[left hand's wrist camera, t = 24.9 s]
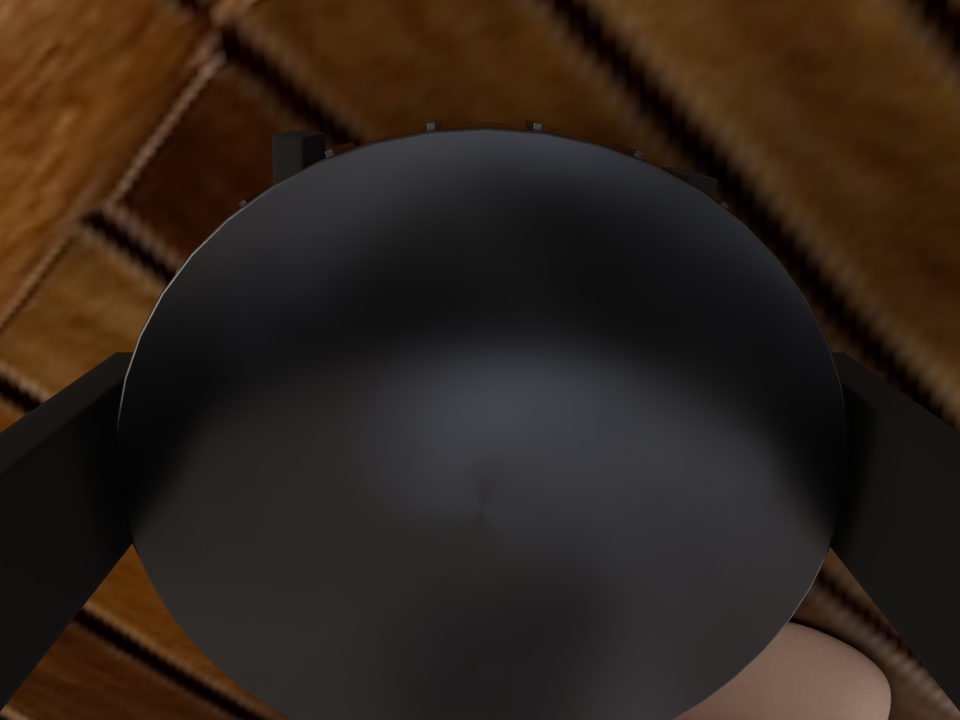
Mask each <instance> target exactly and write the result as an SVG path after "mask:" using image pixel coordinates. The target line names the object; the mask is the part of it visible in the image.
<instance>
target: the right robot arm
mask: <svg viewBox="0 0 960 720" xmlns="http://www.w3.org/2000/svg"><path fill="white" fill-rule="evenodd" d="M272 140H273V185H274V184H275V183H277V182H279V181H281V180H283V179H285V178H287V177H289V176H291V175H293V174H295V173H297V172H299V171H300V170H302V169H304V168H306V167H308V166H310V165H312V164H314V163H316V162H318V161H320V160H322V159H325V158H326V154H325V151H326V133H322V132H312V131H302V130H298V131H292V132H286V133H280V134H274V135H272ZM662 169H663V170H665V171H667V172H669V173H671V174H672V175H674V176H676V177H678V178H680V179H682V180H683V181H685V182H687V183H689V184H691V185H692V186H694V187H696V188H698V189H700V190H702V191H703V192H704V193H705V194H707V195H708V196H711V197H713V198H714V197H715V192H716V188H717V183H718V179H715V178H712V177H709V176H706V175H703V174H700V173H697V172H694V171H691V170H688V169H678V168H668V167H662Z"/></svg>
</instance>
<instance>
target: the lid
mask: <svg viewBox="0 0 960 720" xmlns="http://www.w3.org/2000/svg"><path fill="white" fill-rule="evenodd" d="M542 125H543V124H542V123H539V122H536V121H534V120H526V125H514V124H502V123H489V122H481V123H464V124H447V125H442V120H441V119H437V120H433V121H431V122H428V123H427V127H426V128H421V129H416V130H411V131H406V132H401V133H396V134H392V135H389V136H386V137H383V138H381V139H378V140H375V141H372V142H369V143H366V144H363V145H361V146H358V147H355V146H354V143H353V142H351V143H347V144H344V145H341V146H338V147H335V148H332V149H329V150H327V151H325V154H326V156H327V158H325V159H322V160H320V161H318V162H316V163H314V164H312V165H310V166H308V167H306V168H304V169H302V170H300V171H299V172H297V173H295V174H293V175H291V176H289V177H287V178H285V179H283V180H281V181H279V182H277V183H275V184H274V185H272V186H270V187H269V188H267V189H266V190H264V191H263V192H261V193H259V194H256V195H254V196H251V197H249V198H247V199H244V200H243V201H242V202H240V203H239V205H240V206H241V208H240V209H238V210H237V211H235V212H234V213H233V214H231V215H230V216H229V217H227V218H226V219H225V220H224V221H223V222H222V223H221V224H220V225H219V226H218V227H217V228H216V229H215V230H214V231H213V232H212V233H211V234H210V235H209V236H208V237H207V238H206V239H205V240H204V241H203V242H202V243H201V244H200V245H199V246H198V247H197V248H196V249H195V250H194V251H193V252H192V253H191V254H190V255H189V256H188V258H187V259H186V260H185V262H184V263H183V264H182V266H181V267H180V268H179V269H178V270H177V272H176V273H175V275H174V276H173V278H172V279H171V280H170V282H169V283H168V285H167V286H166V287H165V289H164V290H163V291H162V293H161V294H160V296H159V298H158V300H157V302H156V304H155V306H154V308H153V310H152V311H151V313H150V315H149V317H148V319H147V321H146V323H145V325H144V327H143V328H142V330H141V332H140V334H139V337H138V340H137V343H136V346H135V349H134V352H133V355H132V358H131V361H130V363H129V366H128V369H127V372H126V375H125V379H124V385H123V391H122V396H121V402H120V408H119V413H118V419H117V458H116V465H117V472H118V480H119V487H120V495H121V502H122V507H123V511H124V514H125V518H126V521H127V525H128V528H129V531H130V535H131V538H132V542H133V545H134V547H135V550H136V552H137V554H138V556H139V559H140V561H141V563H142V565H143V567H144V570H145V572H146V574H147V576H148V579H149V581H150V583H151V584H152V586H153V587H154V589H155V591H156V592H157V594H158V596H159V597H160V599H161V600H162V602H163V604H164V605H165V607H166V608H167V610H168V612H169V613H170V615H171V616H172V618H173V619H174V620H175V621H176V622H177V624H178V625H179V626H180V627H181V629H182V630H183V631H184V632H185V634H186V635H187V636H188V637H189V638H190V640H191V641H192V642H193V643H194V645H195V646H196V647H197V648H198V649H199V650H200V651H201V652H202V653H203V654H204V655H205V656H206V657H207V658H208V659H209V660H210V661H212V662H213V663H214V664H215V665H216V666H217V667H218V668H219V669H220V670H221V671H222V672H223V673H224V674H225V675H226V676H228V677H229V678H230V679H232V680H233V681H234V682H236V683H237V684H238V685H239V686H241V687H242V688H243V689H245V690H246V691H247V692H249V693H250V694H251V695H252V696H254V697H255V698H257V699H258V700H260V701H261V702H263V703H265V704H266V705H268V706H270V707H271V708H273V709H275V710H276V711H278V712H280V713H281V714H283V715H284V716H286V717H288V718H289V719H292V720H672V719H674V718H676V717H677V716H679V715H681V714H682V713H684V712H686V711H687V710H689V709H691V708H693V707H694V706H696V705H698V704H699V703H701V702H703V701H704V700H706V699H707V698H708V697H710V696H711V695H712V694H714V693H715V692H716V691H718V690H719V689H720V688H722V687H723V686H725V685H726V684H727V683H729V682H730V681H731V680H733V679H734V678H735V677H736V676H737V675H738V674H740V673H741V672H742V671H743V670H744V669H745V668H746V667H747V666H748V665H749V664H750V663H751V662H752V661H753V660H755V659H756V658H757V657H758V656H759V655H760V654H761V653H762V652H763V651H764V650H765V649H766V648H767V647H768V645H769V644H770V643H771V642H772V641H773V639H774V638H775V637H776V636H777V635H778V634H779V632H780V631H781V630H782V629H783V628H784V626H785V625H786V624H787V623H788V622H789V620H790V619H791V617H792V616H793V614H794V613H795V611H796V610H797V608H798V607H799V605H800V604H801V602H802V601H803V599H804V597H805V596H806V594H807V593H808V591H809V590H810V588H811V587H812V584H813V582H814V580H815V578H816V576H817V574H818V572H819V570H820V568H821V566H822V563H823V561H824V559H825V557H826V555H827V553H828V551H829V548H830V545H831V542H832V538H833V535H834V532H835V529H836V526H837V522H838V519H839V516H840V513H841V508H842V502H843V496H844V489H845V483H846V477H847V471H848V425H847V418H846V412H845V405H844V398H843V391H842V385H841V381H840V378H839V375H838V371H837V368H836V365H835V362H834V359H833V355H832V352H831V349H830V346H829V343H828V340H827V338H826V336H825V334H824V332H823V330H822V328H821V326H820V324H819V322H818V320H817V318H816V316H815V314H814V312H813V310H812V308H811V306H810V304H809V302H808V300H807V298H806V296H805V295H804V294H803V292H802V291H801V289H800V288H799V287H798V285H797V284H796V282H795V281H794V280H793V278H792V277H791V275H790V274H789V272H788V271H787V270H786V268H785V267H784V265H783V264H782V263H781V261H780V260H779V258H778V257H777V256H776V255H775V254H774V253H773V252H772V251H771V250H770V249H769V248H768V247H767V246H766V245H765V244H764V243H763V242H762V241H761V240H760V239H759V238H758V237H757V236H756V235H755V234H754V233H753V232H752V231H751V230H750V229H749V228H748V227H747V226H746V224H745V223H744V222H742V221H741V220H740V219H738V218H737V217H736V216H734V215H733V214H732V213H730V212H729V211H728V210H727V208H728V207H729V206H728V205H727V204H726V203H724V202H723V201H720V200H718V199H716V198H713V197H711V196H708V195H707V194H705V193H704V192H703V191H702V190H700V189H698V188H696V187H694V186H692V185H691V184H689V183H687V182H685V181H683V180H682V179H680V178H678V177H676V176H674V175H672V174H671V173H669V172H667V171H665V170H663V169H662V168H660V167H658V166H656V165H654V164H652V163H649V162H647V161H644V160H641V159H642V156H643V154H644V153H642V152H640V151H638V150H635V149H632V148H629V147H625V146H622V145H619V144H616V143H615V144H614V146H613V148H609V147H607V146H604V145H601V144H599V143H596V142H593V141H590V140H588V139H585V138H582V137H579V136H575V135H571V134H566V133H562V132H558V131H553V130H549V129H544V128H542Z"/></svg>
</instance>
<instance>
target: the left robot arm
mask: <svg viewBox="0 0 960 720" xmlns="http://www.w3.org/2000/svg"><path fill="white" fill-rule="evenodd" d="M132 355H133V353H115V354H113V355H112V356H111V357H109V358H108V359H106V360H105V361H103V362H102V363H100V364H99V365H98V366H96V367H95V368H93V369H92V370H90V371H89V372H87V373H86V374H84V375H83V376H82V377H80V378H79V379H77V380H76V381H74V382H73V383H71V384H70V385H69V386H67V387H66V388H64V389H63V390H61V391H60V392H58V393H57V394H56V395H54V396H53V397H51V398H50V399H48V400H47V401H45V402H44V403H43V404H41V405H40V406H38V407H37V408H35V409H34V410H32V411H31V412H30V413H28V414H27V415H25V416H24V417H22V418H21V419H19V420H18V421H17V422H15V423H14V424H12V425H11V426H9V427H8V428H6V429H5V430H4V431H2V432H1V433H0V711H1V710H2V709H3V707H4V706H5V705H6V703H7V702H8V701H9V700H10V698H11V697H12V696H13V695H14V693H15V692H16V691H17V689H18V688H19V687H20V686H21V684H22V683H23V682H24V681H25V679H26V678H27V677H28V675H29V674H30V673H31V672H32V670H33V669H34V668H35V667H36V665H37V664H38V663H39V661H40V660H41V659H42V658H43V656H44V655H45V654H46V653H47V651H48V650H49V649H50V647H51V646H52V645H53V644H54V642H55V641H56V640H57V639H58V637H59V636H60V635H61V633H62V632H63V631H64V630H65V628H66V627H67V626H68V625H69V623H70V622H71V621H72V619H73V618H74V617H75V616H76V614H77V613H78V612H79V611H80V609H81V608H82V607H83V605H84V604H85V603H86V602H87V600H88V599H89V598H90V597H91V595H92V594H93V593H94V591H95V590H96V589H97V588H98V586H99V585H100V584H101V583H102V581H103V580H104V579H105V577H106V576H107V575H108V574H109V572H110V571H111V570H112V569H113V567H114V566H115V565H116V563H117V562H118V561H119V560H120V558H121V557H122V556H123V555H124V553H125V552H126V551H127V549H128V548H129V547H130V546H131V544H132V543H133V542H132V538H131V535H130V531H129V528H128V525H127V521H126V518H125V514H124V511H123V507H122V502H121V495H120V487H119V480H118V472H117V465H116V458H117V419H118V413H119V408H120V402H121V396H122V391H123V385H124V379H125V375H126V372H127V369H128V366H129V363H130V361H131V358H132ZM832 355H833V359H834V362H835V365H836V368H837V371H838V375H839V378H840V381H841V385H842V391H843V398H844V405H845V412H846V418H847V425H848V471H847V477H846V483H845V489H844V496H843V502H842V508H841V513H840V516H839V519H838V522H837V526H836V529H835V532H834V535H833V538H832V542H831V545H830V547H831V548H832V549H833V551H834V552H835V553H836V555H837V556H838V557H839V558H840V560H841V561H842V562H843V563H844V565H845V566H846V567H847V569H848V570H849V571H850V572H851V574H852V575H853V576H854V577H855V579H856V580H857V581H858V583H859V584H860V585H861V586H862V588H863V589H864V590H865V591H866V593H867V594H868V595H869V597H870V598H871V599H872V600H873V602H874V603H875V604H876V605H877V607H878V608H879V609H880V611H881V612H882V613H883V614H884V616H885V617H886V618H887V619H888V621H889V622H890V623H891V625H892V626H893V627H894V628H895V630H896V631H897V632H898V633H899V635H900V636H901V637H902V639H903V640H904V641H905V642H906V644H907V645H908V646H909V647H910V649H911V650H912V651H913V653H914V654H915V655H916V656H917V658H918V659H919V660H920V661H921V663H922V664H923V665H924V667H925V668H926V669H927V670H928V672H929V673H930V674H931V675H932V677H933V678H934V679H935V681H936V682H937V683H938V684H939V686H940V687H941V688H942V689H943V691H944V692H945V693H946V695H947V696H948V697H949V698H950V700H951V701H952V702H953V703H954V705H955V706H956V707H957V709H958V710H959V711H960V433H959V432H958V431H956V430H955V429H953V428H952V427H951V426H949V425H948V424H946V423H945V422H943V421H942V420H940V419H939V418H938V417H936V416H935V415H933V414H932V413H930V412H929V411H927V410H926V409H925V408H923V407H922V406H920V405H919V404H917V403H916V402H914V401H913V400H912V399H910V398H909V397H907V396H906V395H904V394H903V393H901V392H900V391H899V390H897V389H896V388H894V387H893V386H891V385H890V384H888V383H887V382H886V381H884V380H883V379H881V378H880V377H878V376H877V375H875V374H874V373H873V372H871V371H870V370H868V369H867V368H865V367H864V366H862V365H861V364H860V363H858V362H857V361H855V360H854V359H852V358H851V357H849V356H848V355H847V354H845V353H832Z"/></svg>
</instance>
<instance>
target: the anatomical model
mask: <svg viewBox="0 0 960 720" xmlns="http://www.w3.org/2000/svg"><path fill="white" fill-rule="evenodd" d="M890 705H891V692H890V687H889V684H888V681H887V679H886V677H885V676H884V674H883V673H882V671H881V670H880V669H879V668H878V666H877V665H876V664H875V663H873V662H872V661H871V660H870V659H869V658H867V657H866V656H865V655H864V654H862V653H861V652H859V651H858V650H856V649H855V648H853V647H851V646H850V645H848V644H846V643H844V642H842V641H840V640H838V639H836V638H834V637H832V636H829V635H827V634H825V633H822V632H820V631H818V630H815V629H812V628H809V627H806V626H803V625H800V624H796V623H792V622H788V623H787V624H786V625H785V626H784V628H783V629H782V630H781V631H780V632H779V634H778V635H777V636H776V637H775V638H774V639H773V641H772V642H771V643H770V644H769V645H768V647H767V648H766V649H765V650H764V651H763V652H762V653H761V654H760V655H759V656H758V657H757V658H756V659H755V660H753V661H752V662H751V663H750V664H749V665H748V666H747V667H746V668H745V669H744V670H743V671H742V672H741V673H740V674H738V675H737V676H736V677H735V678H734V679H733V680H731V681H730V682H729V683H727V684H726V685H725V686H723V687H722V688H720V689H719V690H718V691H716V692H715V693H714V694H712V695H711V696H710V697H708V698H707V699H706V700H704V701H703V702H701V703H699V704H698V705H696V706H694V707H693V708H691V709H689V710H687V711H686V712H684V713H682V714H681V715H679V716H677V717H676V718H674V719H672V720H888V716H889V711H890Z"/></svg>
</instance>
